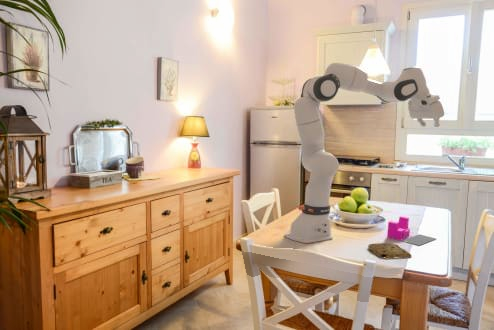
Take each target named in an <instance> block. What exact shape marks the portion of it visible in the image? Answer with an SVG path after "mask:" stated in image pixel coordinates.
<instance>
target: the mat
mask: <svg viewBox="0 0 494 330" xmlns="http://www.w3.org/2000/svg"><path fill="white" fill-rule="evenodd" d="M436 240H437V238H435V237H432V236H428V235H423V234H416V235H413V236H411V237H406V238H404V239H402V240H401V242H403V241H407V242H409V243H408V244H410V243H411V245H414V246H416V247H417V246H418V247H420V246H423V245H426V244H428V243H430V242H433V241H436Z"/></svg>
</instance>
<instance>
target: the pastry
mask: <svg viewBox="0 0 494 330" xmlns="http://www.w3.org/2000/svg"><path fill="white" fill-rule="evenodd" d="M367 247H368V248H369V250H370V251H371V252H372V253H373V252H374V253H373V254H375V255H376V256H377V255H378V256H377V257H379V258H380V257H385V258H391V259H395V258H394V257H408V258H407V259H411V258H412V254H411V253H410V252H409V251H407V250H406V249H403V247H401V246H399V245H397V244H395V243H391V242H382V243H379V242H377V243H370V244H368V245H367ZM385 258H384V259H385Z"/></svg>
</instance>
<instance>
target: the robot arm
mask: <svg viewBox="0 0 494 330" xmlns="http://www.w3.org/2000/svg"><path fill="white" fill-rule="evenodd" d="M339 89H341V90H345V91H348V92H354V93H355V92H356V93H359V92H362V93H366V94H369V95H372V96H375V97H377V98H378V99H379V100H381V101H382V102H383V103H386V104H389V103H398V102H405V101H408V102H407V105H408V106H407V108H408V112H409V116H410V117H409V118H411V119H416V121H417V122H418V123H419V124H420V127H422V128H423V127H426V126H427V124H426V122H425V121H424V120H423V119H426V120H427V119H429V120H431V119H432V120H433V121H434V123H433V126H434V128H438V127H440V119H441V118H443V117H444V116H445V111H444V107H443V104H442V102H441V101H440V95H438V94H436V93H433V92H431V91H430V89H429V88H428V86H427V79H426V77H425V75H424V72H423V70H422V68H420V66H417V65H415V66H410V67H406V68H403V69H402V71H401V73H400V75H399V76H398V78H397V79H396V80H394V81H385V82H384V81H383V82H379V81H377V80H372V79H369V75H368V72H367V70H365V69H363V68H361V67H359V66H356V65H353V64H348V63H341V62H333V63H330V64H328V66H327V67H326V69H325V72H324V75H322V76H321V75H320V76H314V77H312V78H309V79H307V80H306V81H305V82H304V83H303V86H302V87H301V94H300V98H298V99H297V100H296V101H294V104H293V106H294V107H293V108H294V110H293V111H294V119H295V123H296V127H297V131H298V135H299V139H300V143H301V144H300V145H301V164H302V167H304V169H305V170H306V171H308V172H310V175H309V178H308V179H309V180H308V183H307V184H306V186H305V195H304V198H305V199H304V204H303V205H299V206H297V207H298V210H299V211H301V213H300V214H299V215H298V216H296V218H295V219H294V220H293V221H292V222H291V225H290V228H289V229H290V231H287V232H286V233H284V237H285V238H288V239H290V240H292V241H295V242H299V243H304V244H310V243H315V242H316V243H317V242H322V241H328V240H333V235H332V227H331V226H332V223H331V218H330V213H331V205H330V198H331V188H332V183H333V180H334V178H335V177H334V176H335V175H336V173H337V172H338V170H339V167H340V165H339V164H340V163H339V161H338V158H337V157H335V155H333V154H332V153H330V152H327V151H326V150H325V144H324V143H325V137H326V133H325V129H324V124H323V120H322V117H321V113H320V105H321V102H322V103H323V102H329V101H331V100H333V99H335V97H336V96H337V94H338V91H339Z"/></svg>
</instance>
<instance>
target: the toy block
mask: <svg viewBox="0 0 494 330" xmlns="http://www.w3.org/2000/svg"><path fill="white" fill-rule="evenodd" d="M409 222H410V218H409V217H406V216H399V217H398V221H393V220H389V221H388V223H387V237H386V238H388V237H390V238H389V239H392V238H394V239H393V240H396V239H399V240H398V241H402V240H404V239H406V238H408V237H409V236H410V230H411V229H410V228H409ZM407 236H408V237H407ZM405 237H406V238H405ZM403 238H404V239H403ZM401 239H402V240H401Z"/></svg>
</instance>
